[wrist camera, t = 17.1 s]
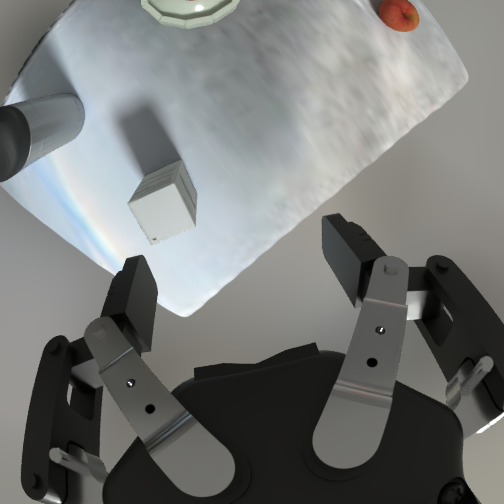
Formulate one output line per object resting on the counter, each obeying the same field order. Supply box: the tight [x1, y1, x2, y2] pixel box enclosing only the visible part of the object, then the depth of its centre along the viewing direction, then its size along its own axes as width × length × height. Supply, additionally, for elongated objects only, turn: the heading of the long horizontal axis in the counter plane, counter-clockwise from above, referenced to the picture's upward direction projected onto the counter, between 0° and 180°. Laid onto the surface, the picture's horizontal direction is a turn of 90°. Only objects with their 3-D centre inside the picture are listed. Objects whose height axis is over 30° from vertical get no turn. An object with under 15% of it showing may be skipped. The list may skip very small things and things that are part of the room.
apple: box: [379, 0, 419, 32], centre depth 28 cm, size 7×7×8 cm
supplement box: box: [128, 160, 197, 245], centre depth 41 cm, size 7×7×13 cm
